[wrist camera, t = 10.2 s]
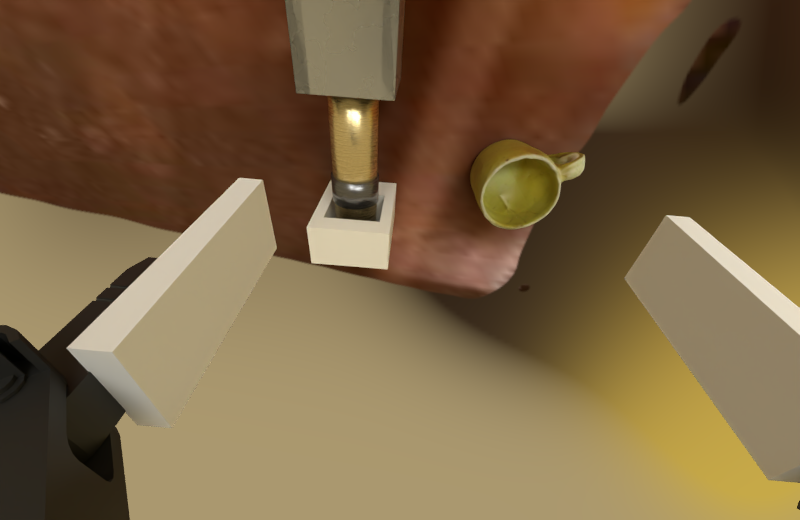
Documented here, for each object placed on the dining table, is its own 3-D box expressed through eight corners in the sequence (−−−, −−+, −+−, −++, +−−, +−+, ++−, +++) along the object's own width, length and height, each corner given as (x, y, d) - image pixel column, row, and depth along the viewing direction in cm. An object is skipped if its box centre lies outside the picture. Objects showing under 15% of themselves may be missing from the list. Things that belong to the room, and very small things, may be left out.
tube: (330, 56, 33) (316, 65, 29) (384, 61, 33) (378, 70, 29) (339, 207, 43) (330, 229, 39) (380, 210, 43) (375, 233, 39)
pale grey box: (315, -79, 30) (271, -111, 21) (409, -72, 30) (404, -101, 21) (325, 71, 37) (296, 93, 29) (401, 77, 37) (394, 100, 29)
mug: (468, 225, 47) (491, 243, 37) (454, 152, 44) (475, 151, 34) (553, 202, 47) (597, 215, 37) (544, 127, 43) (590, 119, 34)
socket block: (331, 178, 46) (306, 227, 36) (396, 183, 45) (389, 234, 36) (333, 209, 49) (311, 263, 39) (394, 214, 49) (387, 269, 39)
